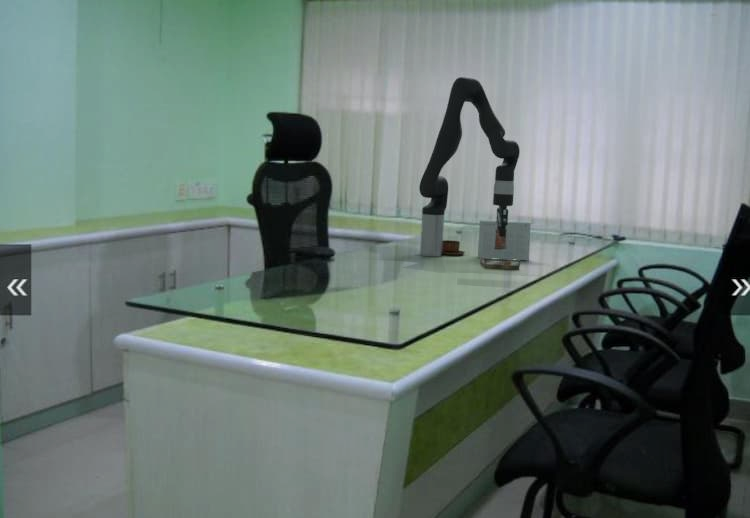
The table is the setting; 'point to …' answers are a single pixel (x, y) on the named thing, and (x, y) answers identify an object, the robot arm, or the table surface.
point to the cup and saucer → (451, 248)
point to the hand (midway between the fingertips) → (500, 235)
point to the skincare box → (514, 241)
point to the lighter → (500, 240)
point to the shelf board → (500, 263)
